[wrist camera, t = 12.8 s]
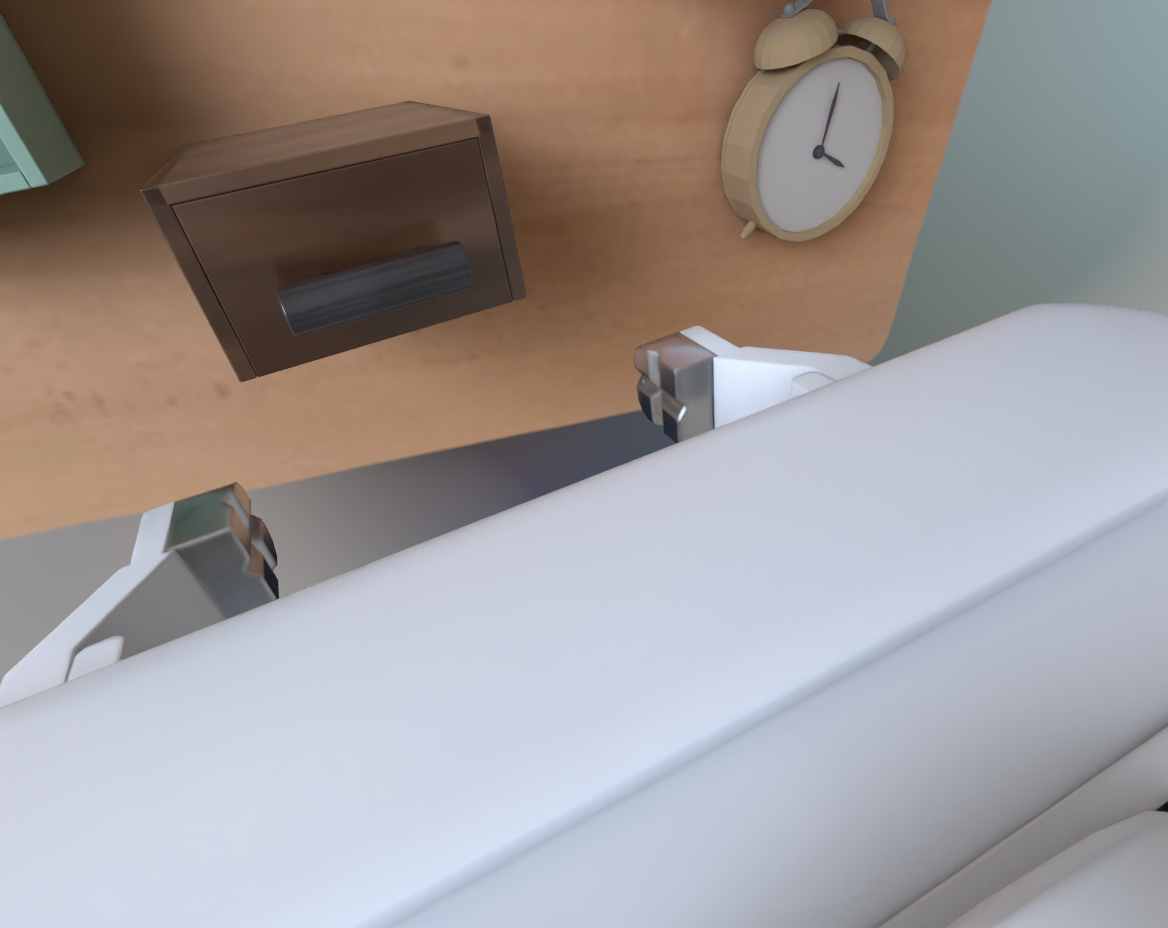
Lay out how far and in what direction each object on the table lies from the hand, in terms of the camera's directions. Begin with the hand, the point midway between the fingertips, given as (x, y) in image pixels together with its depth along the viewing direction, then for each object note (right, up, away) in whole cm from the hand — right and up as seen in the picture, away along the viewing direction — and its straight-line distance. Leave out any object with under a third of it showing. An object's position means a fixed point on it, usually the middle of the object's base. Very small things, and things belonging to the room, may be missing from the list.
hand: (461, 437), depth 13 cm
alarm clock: (+16, +23, +29) cm, 40 cm away
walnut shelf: (-8, +12, +11) cm, 18 cm away
